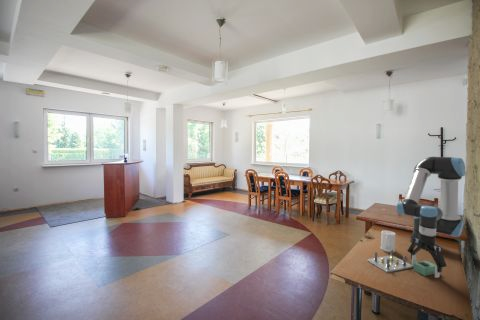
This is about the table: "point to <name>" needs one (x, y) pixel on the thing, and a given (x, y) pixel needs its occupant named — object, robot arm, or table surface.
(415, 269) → the board
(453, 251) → the table surface
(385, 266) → the chassis
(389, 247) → the mug
